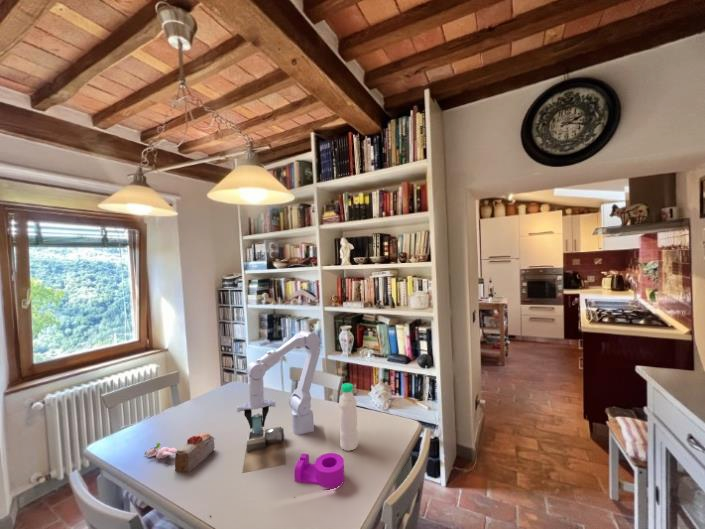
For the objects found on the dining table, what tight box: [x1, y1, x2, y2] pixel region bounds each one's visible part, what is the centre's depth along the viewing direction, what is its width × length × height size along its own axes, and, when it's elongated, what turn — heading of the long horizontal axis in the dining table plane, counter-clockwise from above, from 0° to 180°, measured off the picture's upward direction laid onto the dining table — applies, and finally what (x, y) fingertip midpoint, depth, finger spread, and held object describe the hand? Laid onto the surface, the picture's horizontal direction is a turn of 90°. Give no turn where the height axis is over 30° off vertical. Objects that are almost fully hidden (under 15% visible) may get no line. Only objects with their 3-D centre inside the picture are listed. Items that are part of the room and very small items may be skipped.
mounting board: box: [242, 437, 287, 474], centre depth 115 cm, size 15×20×1 cm
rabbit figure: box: [144, 442, 178, 460], centre depth 116 cm, size 6×6×15 cm
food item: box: [174, 432, 216, 473], centre depth 112 cm, size 14×8×10 cm, turn 169°
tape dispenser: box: [294, 452, 345, 490], centre depth 101 cm, size 16×10×6 cm, turn 78°
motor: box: [246, 426, 285, 452], centre depth 120 cm, size 14×7×6 cm, turn 105°
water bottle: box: [338, 382, 359, 451], centre depth 119 cm, size 7×7×25 cm
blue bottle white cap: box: [251, 412, 264, 433], centre depth 118 cm, size 4×4×6 cm
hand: (257, 426), depth 118 cm, fingers closed on blue bottle white cap, 4 cm apart
